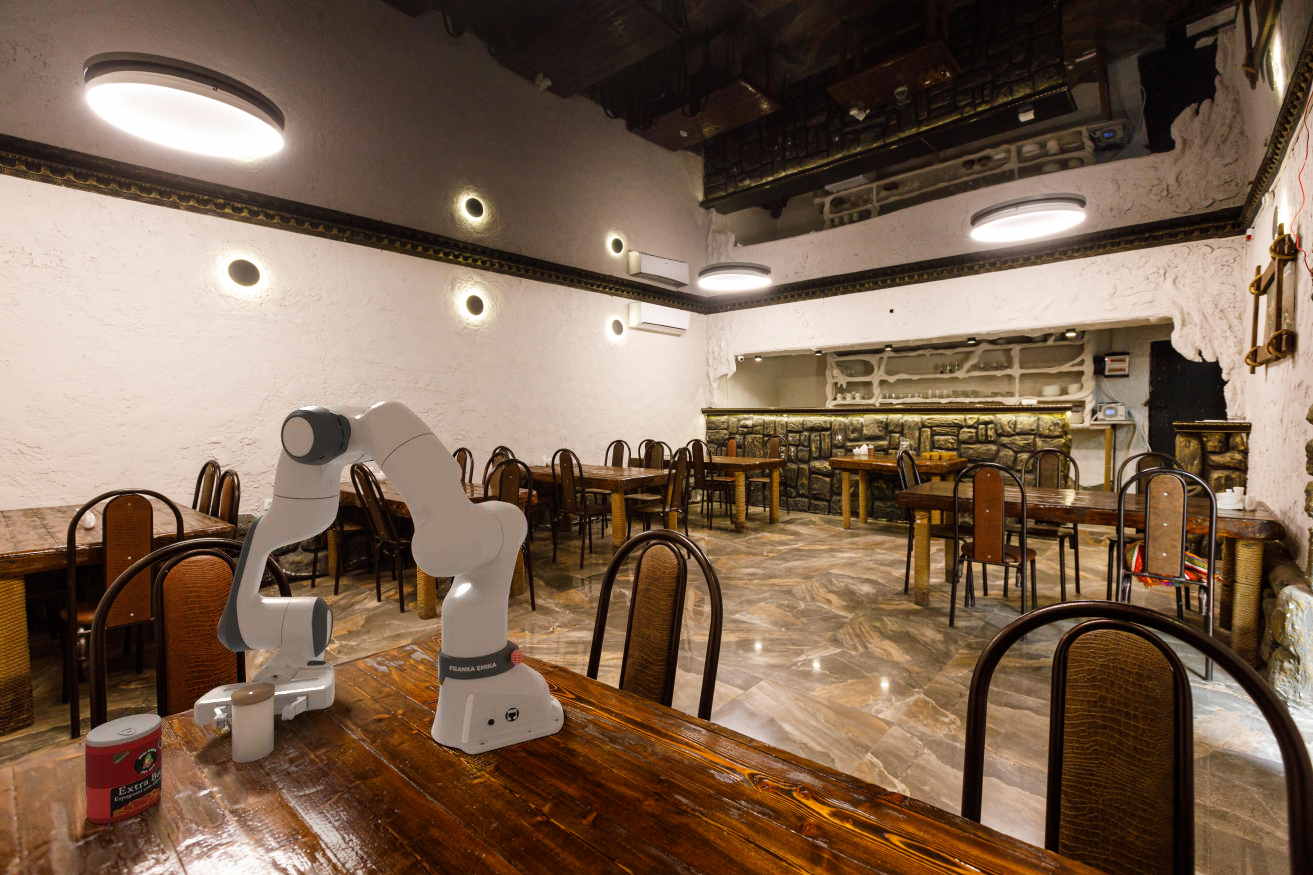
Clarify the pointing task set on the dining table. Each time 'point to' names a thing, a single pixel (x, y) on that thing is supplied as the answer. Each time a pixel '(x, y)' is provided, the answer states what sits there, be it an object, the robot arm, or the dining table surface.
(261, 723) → the spice jar
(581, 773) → the dining table surface
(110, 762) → the canned food
